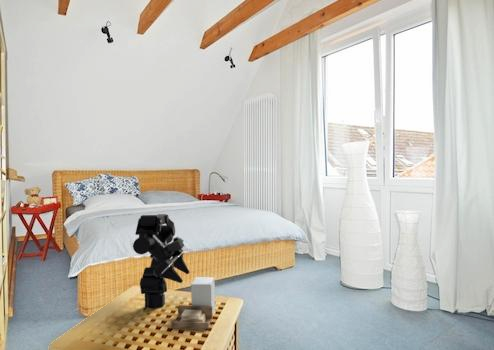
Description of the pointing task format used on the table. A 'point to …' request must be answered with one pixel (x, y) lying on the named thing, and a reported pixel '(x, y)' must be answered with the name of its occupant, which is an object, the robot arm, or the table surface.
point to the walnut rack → (193, 325)
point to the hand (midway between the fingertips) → (185, 277)
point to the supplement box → (203, 292)
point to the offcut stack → (193, 316)
